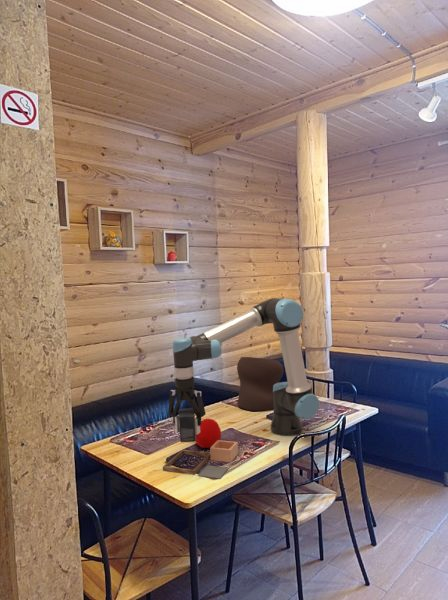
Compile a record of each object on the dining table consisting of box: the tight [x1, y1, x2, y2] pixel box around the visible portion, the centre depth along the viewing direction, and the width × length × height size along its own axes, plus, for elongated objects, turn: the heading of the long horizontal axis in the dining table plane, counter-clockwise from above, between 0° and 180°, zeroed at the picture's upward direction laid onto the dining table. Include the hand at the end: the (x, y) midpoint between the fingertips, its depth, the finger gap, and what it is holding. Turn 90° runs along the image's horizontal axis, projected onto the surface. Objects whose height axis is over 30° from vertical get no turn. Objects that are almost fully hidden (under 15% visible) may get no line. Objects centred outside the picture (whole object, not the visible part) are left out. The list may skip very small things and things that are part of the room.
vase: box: [236, 356, 285, 412], centre depth 254 cm, size 27×27×30 cm
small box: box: [178, 407, 196, 443], centre depth 178 cm, size 11×6×10 cm, turn 4°
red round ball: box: [195, 418, 222, 449], centre depth 197 cm, size 13×13×13 cm
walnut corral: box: [162, 449, 211, 476], centre depth 179 cm, size 14×18×2 cm
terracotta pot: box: [209, 439, 239, 463], centre depth 184 cm, size 9×9×5 cm
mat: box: [197, 464, 229, 480], centre depth 170 cm, size 9×9×1 cm
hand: (187, 432), depth 178 cm, fingers closed on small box, 8 cm apart
